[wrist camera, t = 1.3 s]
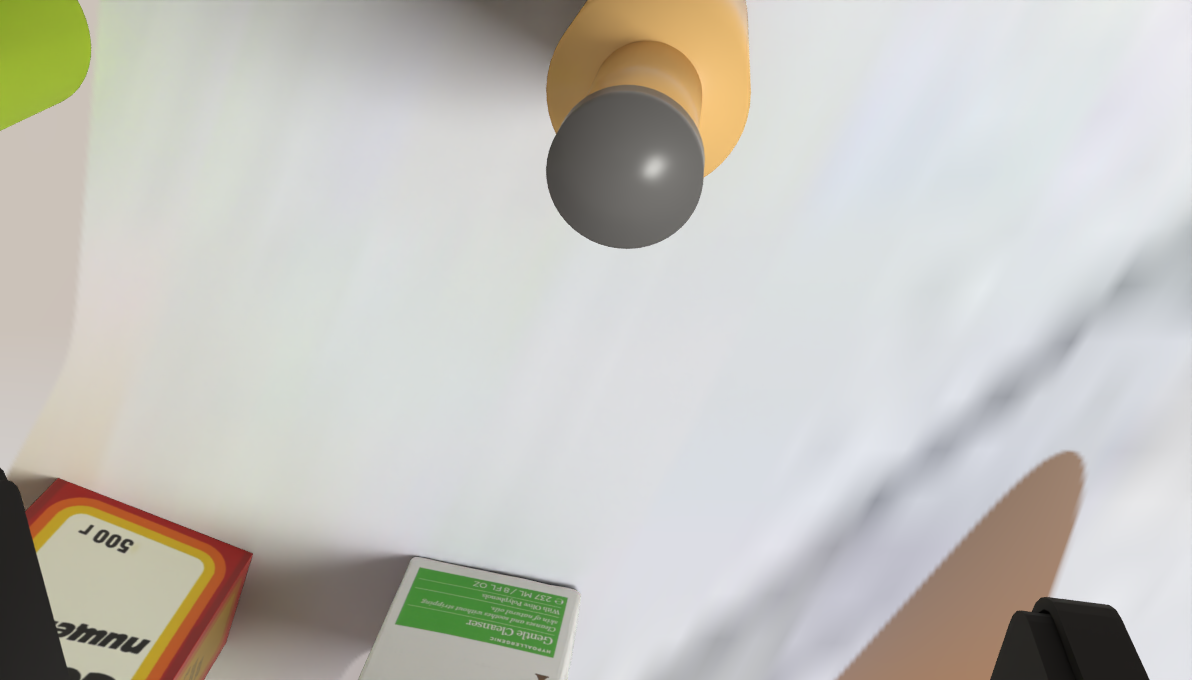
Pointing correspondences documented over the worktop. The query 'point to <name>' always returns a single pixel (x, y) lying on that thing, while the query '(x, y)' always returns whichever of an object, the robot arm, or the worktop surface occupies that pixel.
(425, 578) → the skincare box
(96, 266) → the worktop surface
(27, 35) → the soap dispenser
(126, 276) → the worktop surface
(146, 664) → the baking soda box
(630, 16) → the amber bottle
